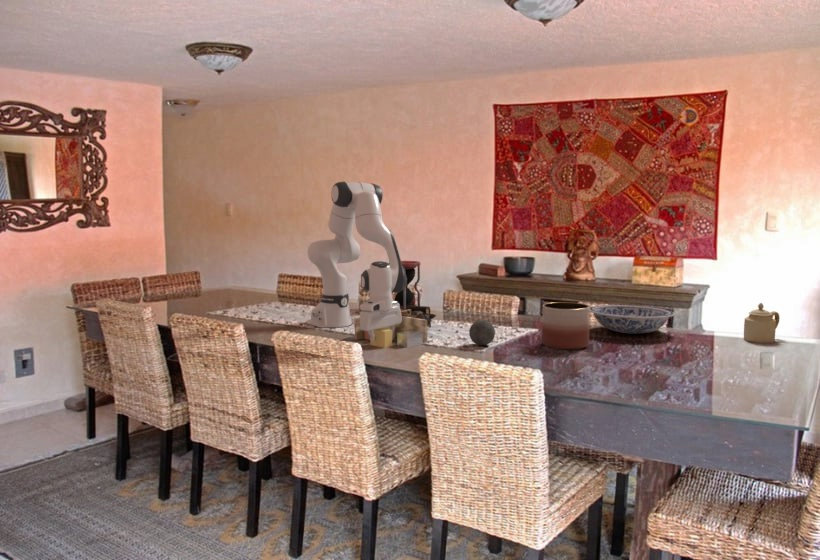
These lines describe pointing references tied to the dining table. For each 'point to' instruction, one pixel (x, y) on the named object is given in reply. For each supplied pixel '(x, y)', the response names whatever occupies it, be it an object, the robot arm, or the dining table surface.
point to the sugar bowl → (761, 325)
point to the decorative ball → (482, 332)
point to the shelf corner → (398, 327)
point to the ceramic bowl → (631, 318)
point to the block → (410, 338)
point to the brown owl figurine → (418, 313)
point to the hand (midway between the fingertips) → (381, 338)
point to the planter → (565, 325)
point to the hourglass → (406, 295)
